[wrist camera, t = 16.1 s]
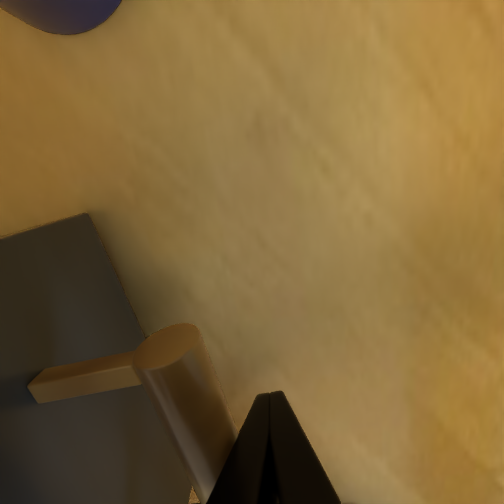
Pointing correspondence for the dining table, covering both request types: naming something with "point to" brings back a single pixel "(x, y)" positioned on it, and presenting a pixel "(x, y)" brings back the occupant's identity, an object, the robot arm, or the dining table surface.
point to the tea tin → (61, 13)
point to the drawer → (98, 383)
